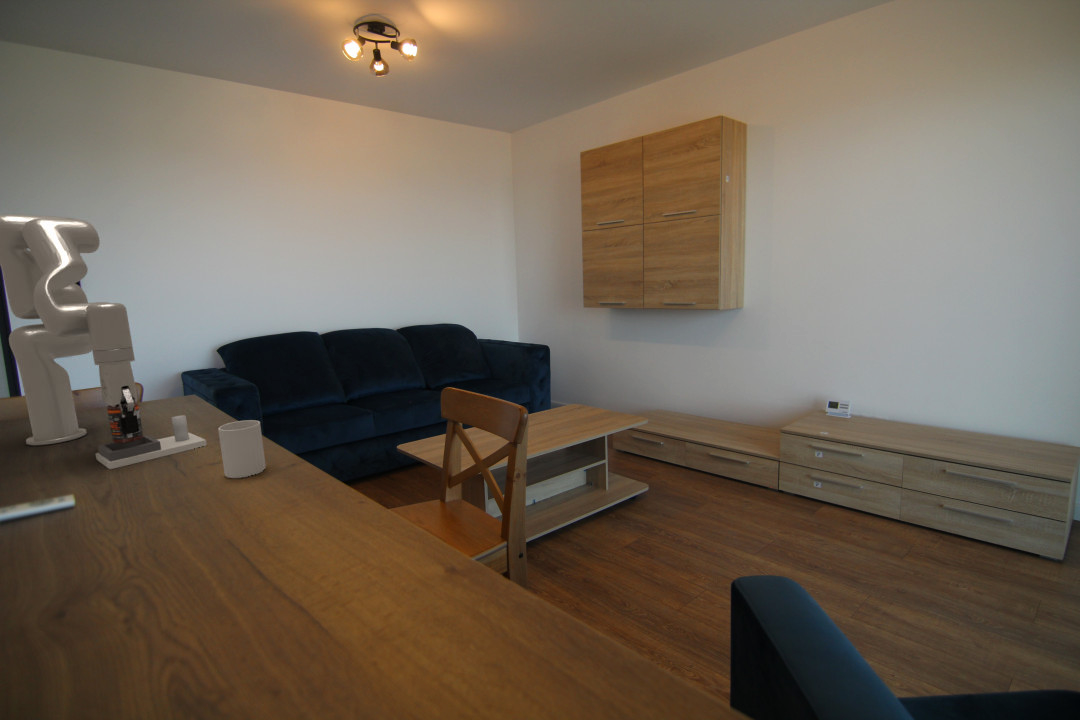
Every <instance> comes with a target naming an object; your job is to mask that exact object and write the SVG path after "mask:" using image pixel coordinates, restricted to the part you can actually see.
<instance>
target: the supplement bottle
mask: <svg viewBox="0 0 1080 720" xmlns="http://www.w3.org/2000/svg"><path fill="white" fill-rule="evenodd" d="M131 396H132V395H131ZM125 403H126V402H121V404H125ZM134 407H135V410H136V415H137V420H138V426H139V431H138V432H135V433H130V434H125V435H124V434H122V429H121V423H120V418H121V414H120V411H119V407H118V404H117V405H116V407H112V406H110V405H108V406H107V410H106V411H107V415H108V421H109V422H108V423H109V428H110V433H111V439H112V442H114V443H129V442H134V441H137V440H140V439H141V438H142V437H143V436H144V432H143V424H142V419H141V413H140V412H141V411H140V408H139V403H138V401H136V402H135V403H134ZM123 410H124V407H123Z"/></svg>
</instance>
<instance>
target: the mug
mask: <svg viewBox="0 0 1080 720" xmlns="http://www.w3.org/2000/svg"><path fill="white" fill-rule="evenodd" d="M218 436H219V444H220V445H219V446H220V450H221V451H220V452H221V458H222V465H223V473H224V476H225V477H226V478H230V479H241V478H242V477H243V478H247V477H248V476H249V477H252V476H251V475H253V476H255V474H256V475H258V474H260V473H262V472H264V471H265V470H266V460H265V450H264V443H263V434H262V428H261V421H259V420H253V419H249V420H247V419H246V420H239V421H233V422H228V423H225V424H222V425H221V426H219V427H218ZM264 469H265V470H264ZM263 470H264V471H263ZM249 477H248V478H249Z"/></svg>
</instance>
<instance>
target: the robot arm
mask: <svg viewBox="0 0 1080 720" xmlns="http://www.w3.org/2000/svg"><path fill="white" fill-rule="evenodd" d="M100 242H101V241H100V236H99V233H98V231H97V229H96V228H95V227H94V226H93V225H92V224H91V223H90V222H88V221H87V220H84V219H78V218H74V217H67V216H51V215H37V214H36V215H35V214H17V213H15V214H14V213H8V214H7V213H6V214H0V269H1V271H2V275H3V281H4V285H5V289H6V295H7V300H8V303H9V308H10V311H11V312H12V314H13V315H14V316H15V317H16V318H17V319H18V318H19V319H21V320H40V321H41V323H39V324H37V323H36V324H28V325H24V326H23V325H22V326H20V327H17V328H15V329H13V330H12V331H11V332H10V334H9V337H8V343H9V344H8V345H9V347H10V349H11V352H12V354H13V357H14V358H15V361H16V364H17V366H18V367H17V368H18V369H19V373H20V378H21V383H22V387H23V392H24V397H25V403H26V406H27V412H28V417H29V422H30V426H31V432H32V436H29V437H28V438H26V440H25V442H26V445H28V446H46V445H52V444H54V445H55V444H59V443H65V442H67V441H72V440H76V439H79V438H83V436H85V435H87V433H88V432H87V429H86V428H81V427H79V424H78V417H77V412H76V407H75V401H74V397H73V390H72V386H71V381H70V380H71V379H70V375H69V373H68V371H67V370H66V369H65V368H64V367H63V366H62V365H60V364H59V363H57V361H55V359H60V358H67V357H68V358H69V357H75V356H82V355H88V354H90V353H91V352H92V356H93V361H94V362H93V363H94V365H95V366H98V374H99V383H100V390H101V396H102V397H101V398H102V402H103V403H104V404H105V405H108V406H109V405H110V406H112V407H116V405H117V404H118V407H119V411H120V414H121V418H120V423H121V429H122V434H124V435H125V434H130V433H135V432H138V431H139V426H138V420H137V415H136V410H135V407H134V403H135V402H138V395H137V394H138V393H137V389H136V383H135V377H134V372H133V368H132V364H131V363H132V362H135V361H136V359H135V354H134V353H135V352H134V347H133V341H132V335H131V330H130V329H131V328H130V322H129V317H128V311H127V308H126V306H125V304H123V303H121V302H107V301H99V302H89V301H88V298H87V297H88V296H87V295H86V293H85V291H84V290H83V288H82V287H81V286H80V285H78V284H77V283H78V282H80V281H82V280H83V279H84V278H85V277H86V275H87V274H88V268H89V267H88V266H87V264H86V262H85V260H84V258H83V256H81V254H92V253H94V252H95V253H96V252H97V251H98V250H99V247H100ZM131 395H132V396H131ZM121 402H126V403H125V404H121ZM123 407H124V410H123Z"/></svg>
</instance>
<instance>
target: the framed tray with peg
mask: <svg viewBox="0 0 1080 720" xmlns="http://www.w3.org/2000/svg"><path fill="white" fill-rule="evenodd" d="M171 422H172V429H173V435H172V436H167V437H163V438H157V439H156V438H154V437H152V436H150V435H147V434H146V435H143V437H142V438H141V439H140V440H137V441H134V442H129V443H114V442H113V441H112V442H108V443H103V444H99V445H97V449H98V452H96V453H95V458H96V459H95V460H97V461H98V462H99V463H101V464H102V465H103V466H104V467H106V468H107V469H109V470H112V469H113V470H114V469H118V468H121V467H125V466H126V467H127V466H128V465H129V466H131V465H135V464H137V463H143V462H145V461H150V460H154V459H157V458H163V457H166V456H170V455H174V454H178V453H179V454H180V453H183V452H187V451H190V450H191V451H192V450H195V449H198V447H200V448H203V447H202V446H204V447H207V446H206V445H207V439H204V438H203V437H201V436H198V435H195V434H193V433H191V432H189V429H188V423H187V417H186V415H185V414H183V415H181V414H180V415H175V416H172V417H171ZM194 448H195V449H194Z"/></svg>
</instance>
